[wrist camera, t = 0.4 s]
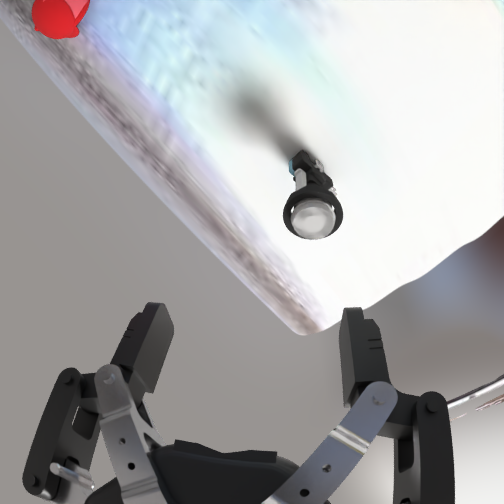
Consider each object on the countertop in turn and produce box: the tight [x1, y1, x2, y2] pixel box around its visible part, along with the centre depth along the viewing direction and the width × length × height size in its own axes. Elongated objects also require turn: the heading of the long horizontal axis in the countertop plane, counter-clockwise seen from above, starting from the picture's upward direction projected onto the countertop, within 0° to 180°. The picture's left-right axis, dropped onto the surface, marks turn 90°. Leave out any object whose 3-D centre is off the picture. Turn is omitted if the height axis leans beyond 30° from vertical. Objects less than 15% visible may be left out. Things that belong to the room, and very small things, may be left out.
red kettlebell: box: [32, 0, 90, 39], centre depth 17 cm, size 8×6×6 cm
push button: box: [283, 150, 343, 240], centre depth 28 cm, size 7×5×10 cm
